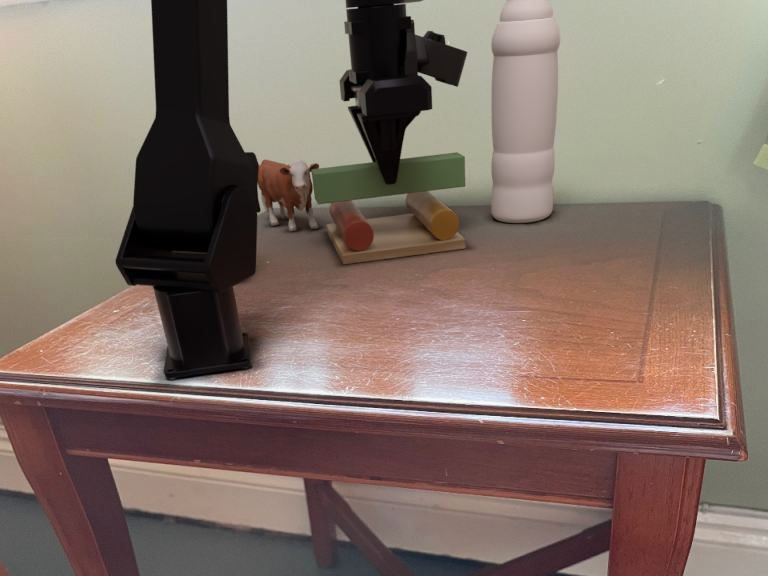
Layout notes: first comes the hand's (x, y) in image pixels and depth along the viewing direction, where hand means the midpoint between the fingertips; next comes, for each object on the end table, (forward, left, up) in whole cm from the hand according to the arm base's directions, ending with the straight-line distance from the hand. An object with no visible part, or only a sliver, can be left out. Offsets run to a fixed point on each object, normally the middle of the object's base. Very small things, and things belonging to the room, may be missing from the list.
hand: (388, 181), depth 81 cm
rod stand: (0, 0, -6) cm, 6 cm away
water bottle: (+3, -16, -6) cm, 17 cm away
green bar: (0, 0, -1) cm, 1 cm away
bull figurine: (+12, +10, -6) cm, 17 cm away
